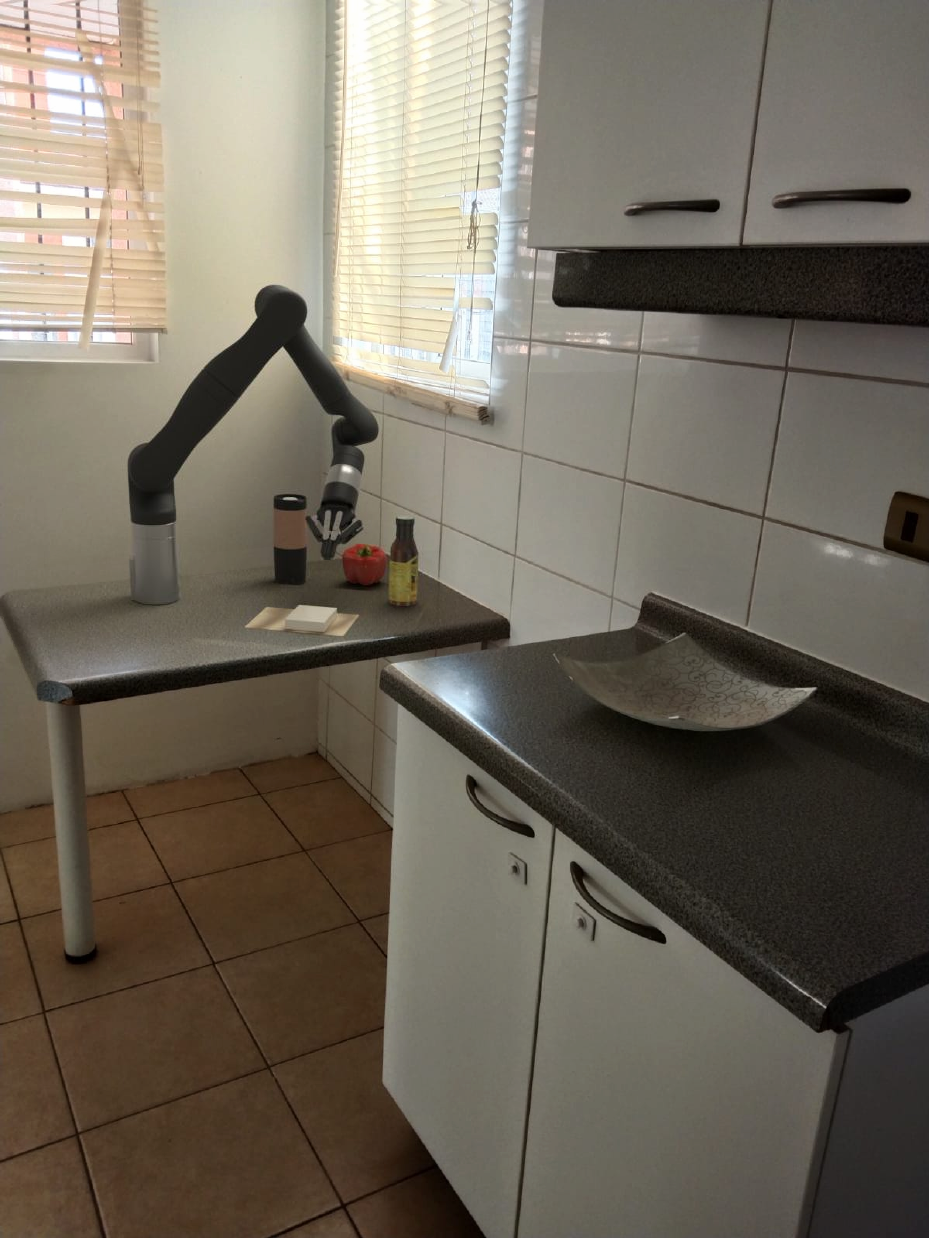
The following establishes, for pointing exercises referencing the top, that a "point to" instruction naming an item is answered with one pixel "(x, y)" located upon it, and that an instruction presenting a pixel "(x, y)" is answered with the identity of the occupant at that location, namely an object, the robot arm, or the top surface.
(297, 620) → the tile
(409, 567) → the sauce bottle
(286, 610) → the board
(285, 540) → the travel mug
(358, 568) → the vegetable
